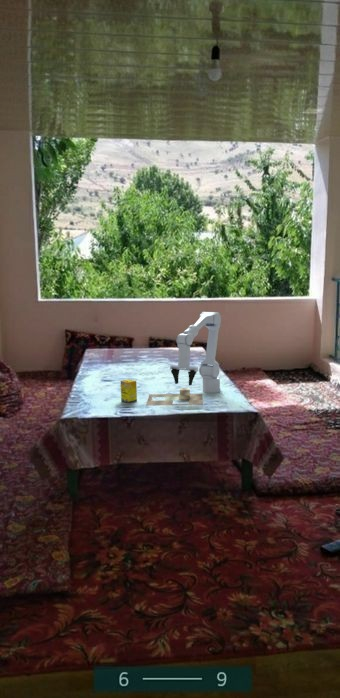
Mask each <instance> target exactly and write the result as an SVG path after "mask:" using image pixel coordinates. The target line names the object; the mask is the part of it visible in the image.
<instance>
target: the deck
mask: <svg viewBox="0 0 340 698" xmlns="http://www.w3.org/2000/svg"><path fill="white" fill-rule="evenodd" d="M153 398H165V399H164V400H153ZM203 399H204V398H203V393H190V400H188V403H174V401H181V400H180V393H166V394H165V393H164V394H163V393H157V394H155V393H154V394H152V393H151V394H149V395H148V398H147V401H146V404H145V406H203V405H204V400H203Z"/></svg>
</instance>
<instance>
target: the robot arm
mask: <svg viewBox="0 0 340 698" xmlns="http://www.w3.org/2000/svg"><path fill="white" fill-rule="evenodd" d="M221 323H222V316H221V314H220V312H218V311H217V312H216V311H215V312H214V311H202V312H201V313H200V314H199V318H198V319H197V320H196V322H195V323H194V324H191V325H188V327H187V329H185V330H184V331H183V332H182V333H179V334H178V335H177V337H176V339H175V342H176V344H177V349H178V360H177V362H178V365H177V364H170V365H169V370H170V372H171V374H172V376H173V380H174V383H175V385H177V384H179V375H180V371H188V372H187V373H188V386H192V385H193V380H194V378H195V377H196V375H197V372H198V373H199V375H200V377H201V378H202V392H204V393H221V378H220V377H219V375H220V363H219V362H218V361H217V360H216V356H217V346H218V341H219V340H218V338H219V331H220V328H221ZM203 327H205V328H207V329H208V336H207V342H206V343H207V344H206V349H205V358H204V359H203V360H202V361H200V362H201V363H200V366H199V367H197V366H191V365H190V362H191V360H190V359H191V345H192V344H193V341H194V339H195V338H196V337H197V335H198V334H199V331H200V330H201V329H202V328H203Z"/></svg>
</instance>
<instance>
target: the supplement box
mask: <svg viewBox="0 0 340 698" xmlns="http://www.w3.org/2000/svg"><path fill="white" fill-rule="evenodd" d="M137 390H138V389H137V380H134V379H130V378H128V379H123V380H120V399H121V400H120V401H121V402H124V403H127V404H131V403H134V402H135V403H136V402H137V401H138V393H137Z"/></svg>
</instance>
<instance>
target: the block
mask: <svg viewBox="0 0 340 698" xmlns="http://www.w3.org/2000/svg"><path fill="white" fill-rule="evenodd" d="M190 391H191V388H190V387H179V394H180V400H179V401H189V400H190V394H191V392H190Z"/></svg>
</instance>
